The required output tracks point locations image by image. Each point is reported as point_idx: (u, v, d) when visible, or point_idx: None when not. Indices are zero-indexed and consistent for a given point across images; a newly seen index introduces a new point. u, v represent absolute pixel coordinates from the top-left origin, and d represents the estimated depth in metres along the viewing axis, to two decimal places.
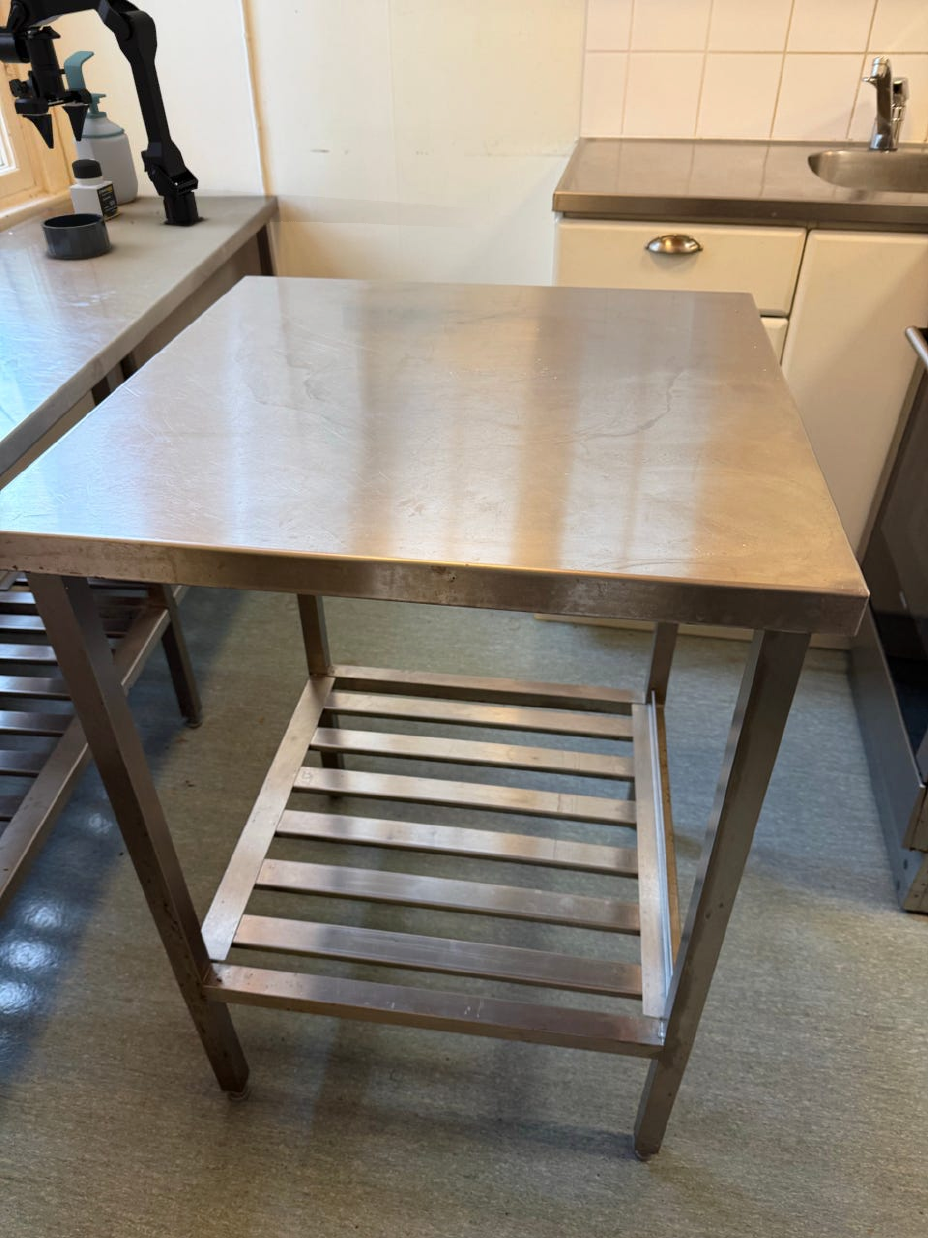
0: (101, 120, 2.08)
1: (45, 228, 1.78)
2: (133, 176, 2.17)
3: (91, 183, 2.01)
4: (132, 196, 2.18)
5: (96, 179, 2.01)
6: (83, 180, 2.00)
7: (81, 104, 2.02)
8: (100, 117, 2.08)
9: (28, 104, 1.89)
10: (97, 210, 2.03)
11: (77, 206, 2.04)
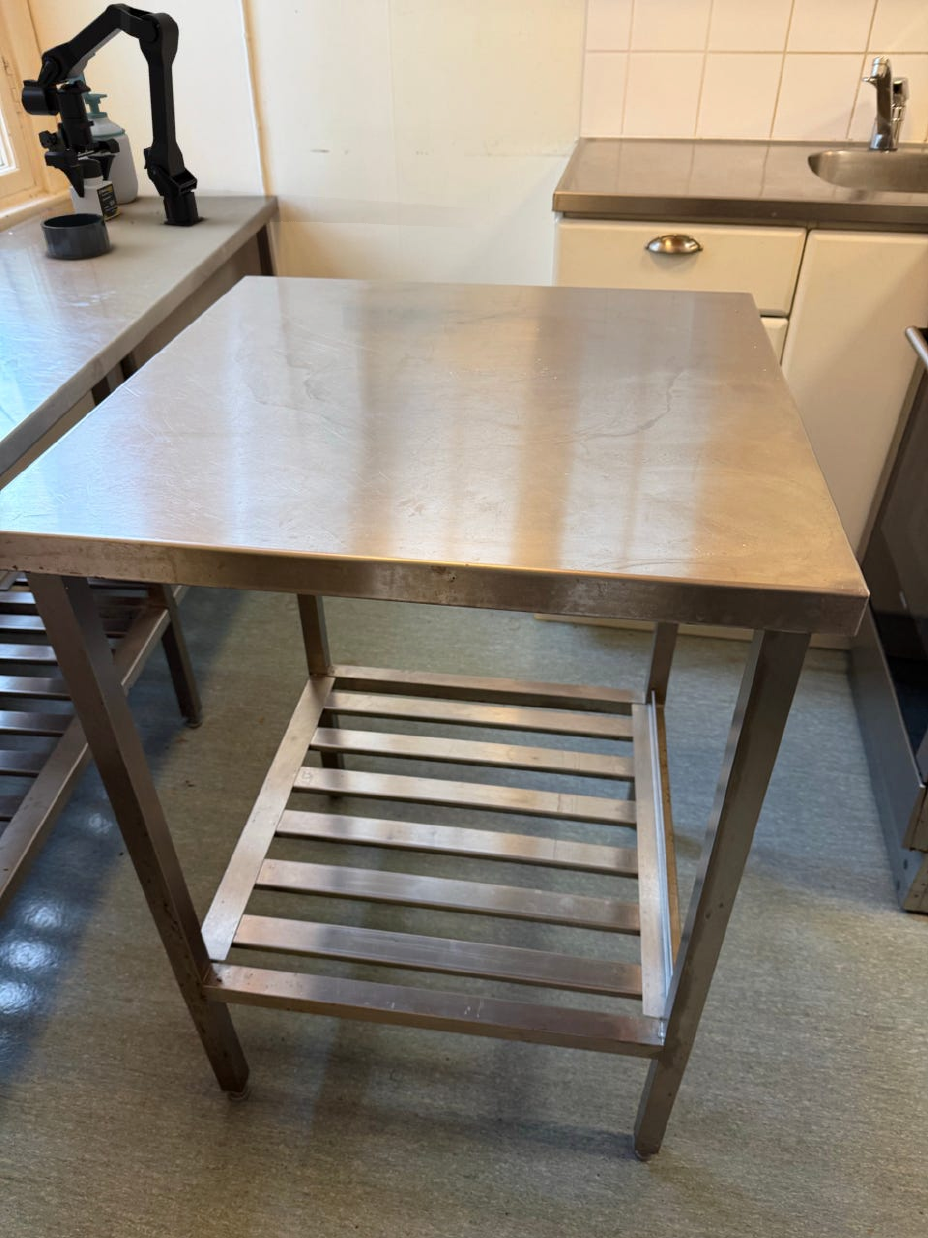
0: (102, 120, 2.09)
1: (45, 228, 1.78)
2: (133, 176, 2.17)
3: (91, 183, 2.01)
4: (132, 196, 2.18)
5: (96, 179, 2.01)
6: None
7: (106, 154, 2.04)
8: (101, 117, 2.08)
9: (58, 157, 1.92)
10: (97, 210, 2.03)
11: (77, 206, 2.04)
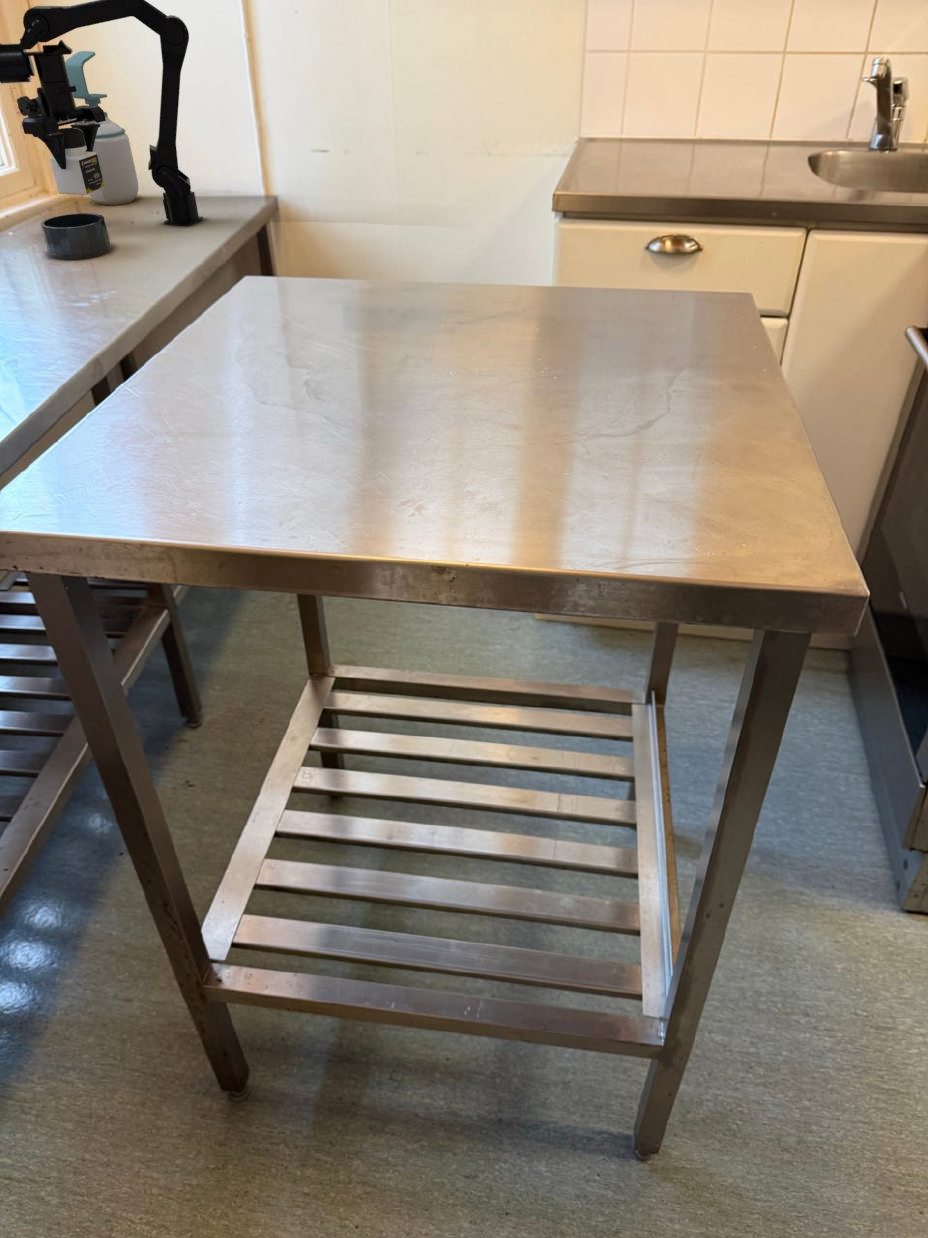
0: None
1: (45, 228, 1.78)
2: (133, 176, 2.17)
3: (73, 154, 1.88)
4: (132, 196, 2.18)
5: (78, 149, 1.88)
6: None
7: (91, 123, 1.91)
8: None
9: (36, 124, 1.78)
10: (79, 183, 1.90)
11: (59, 178, 1.90)
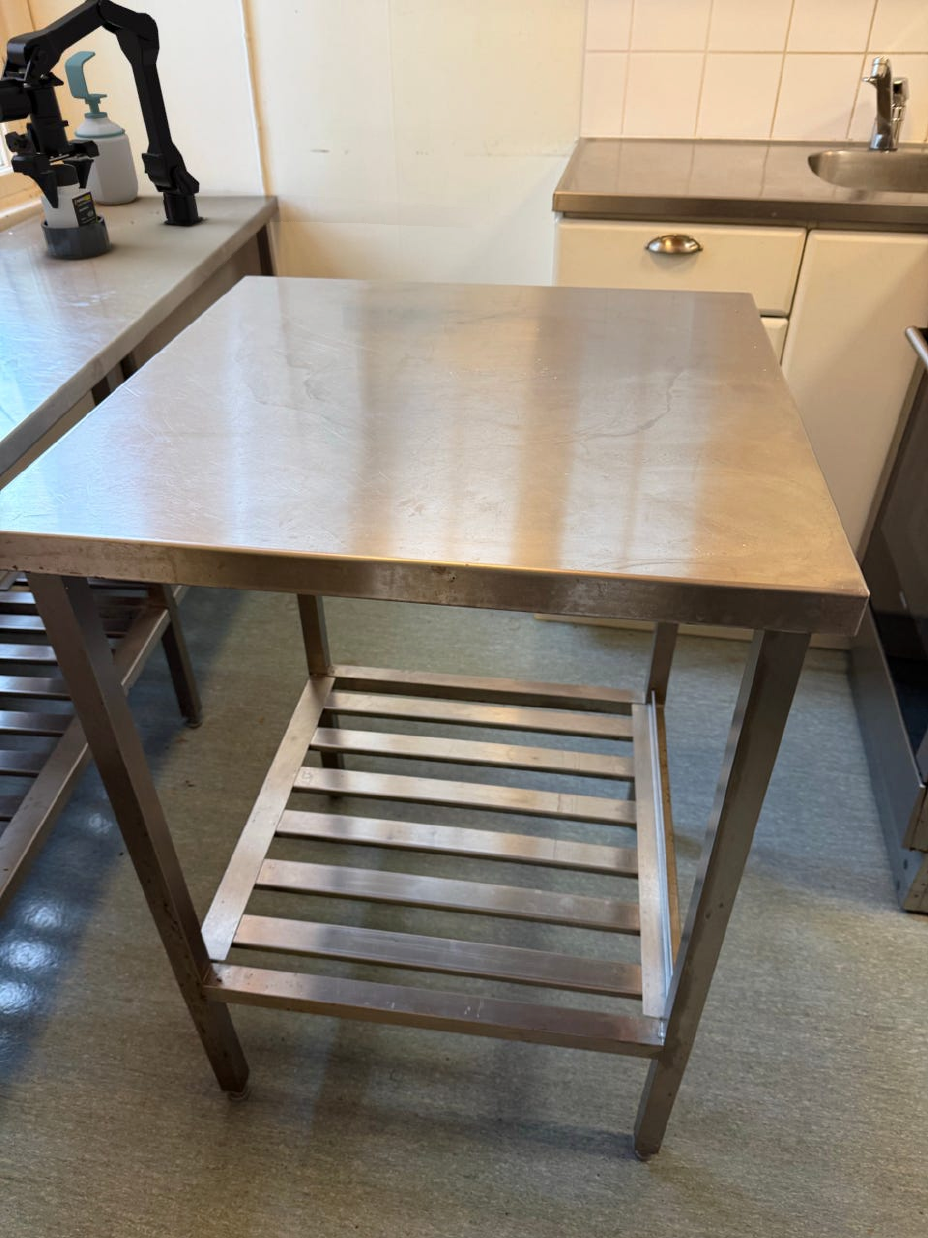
0: (102, 120, 2.09)
1: (45, 228, 1.78)
2: (133, 176, 2.17)
3: (65, 192, 1.76)
4: (132, 196, 2.18)
5: (71, 187, 1.76)
6: None
7: (84, 158, 1.79)
8: (101, 117, 2.08)
9: (27, 162, 1.67)
10: (72, 222, 1.78)
11: (50, 218, 1.79)
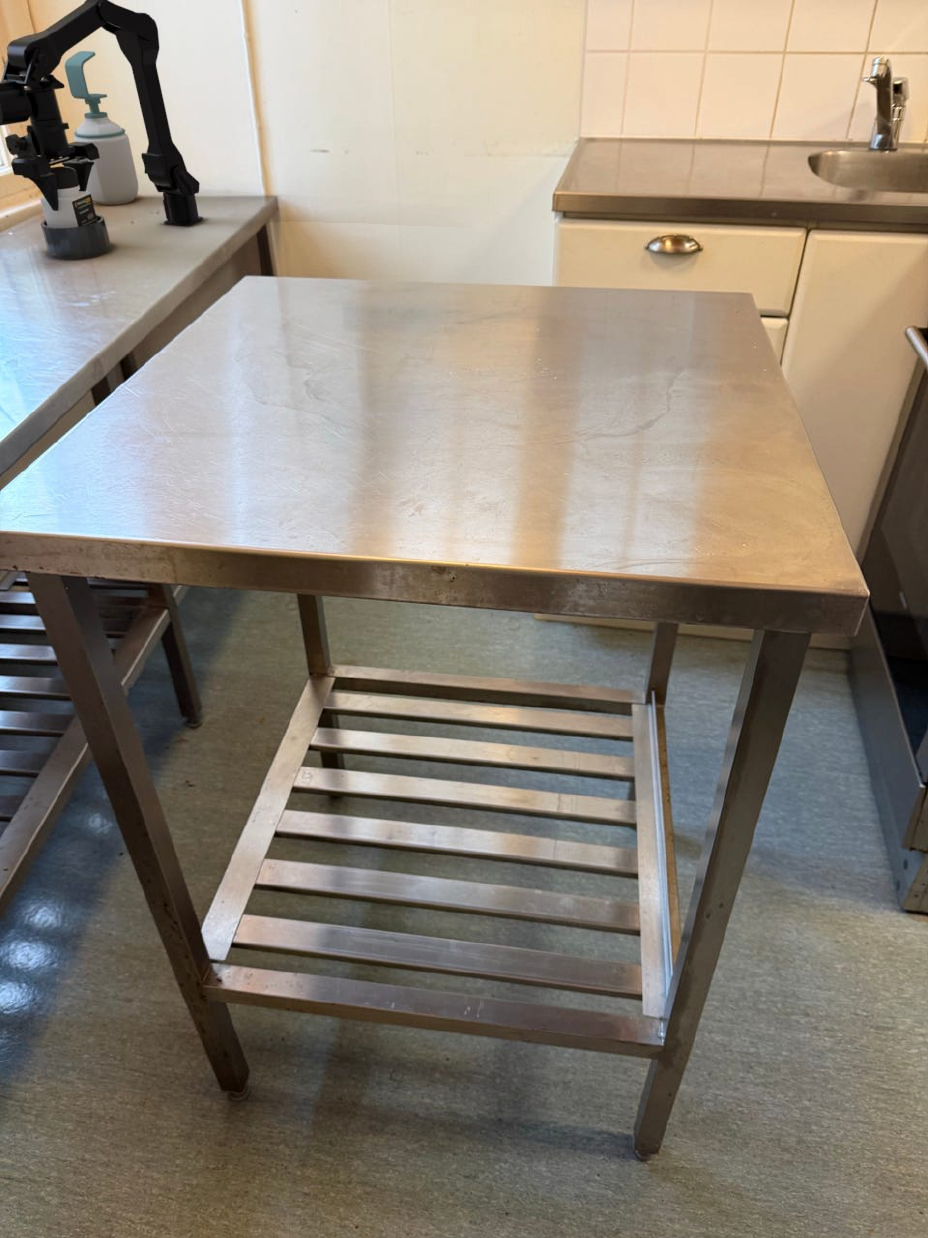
0: (102, 120, 2.09)
1: (45, 228, 1.78)
2: (133, 176, 2.17)
3: (65, 195, 1.76)
4: (132, 196, 2.18)
5: (71, 190, 1.76)
6: None
7: (84, 161, 1.79)
8: (101, 117, 2.08)
9: (27, 165, 1.67)
10: (73, 225, 1.78)
11: (50, 220, 1.79)
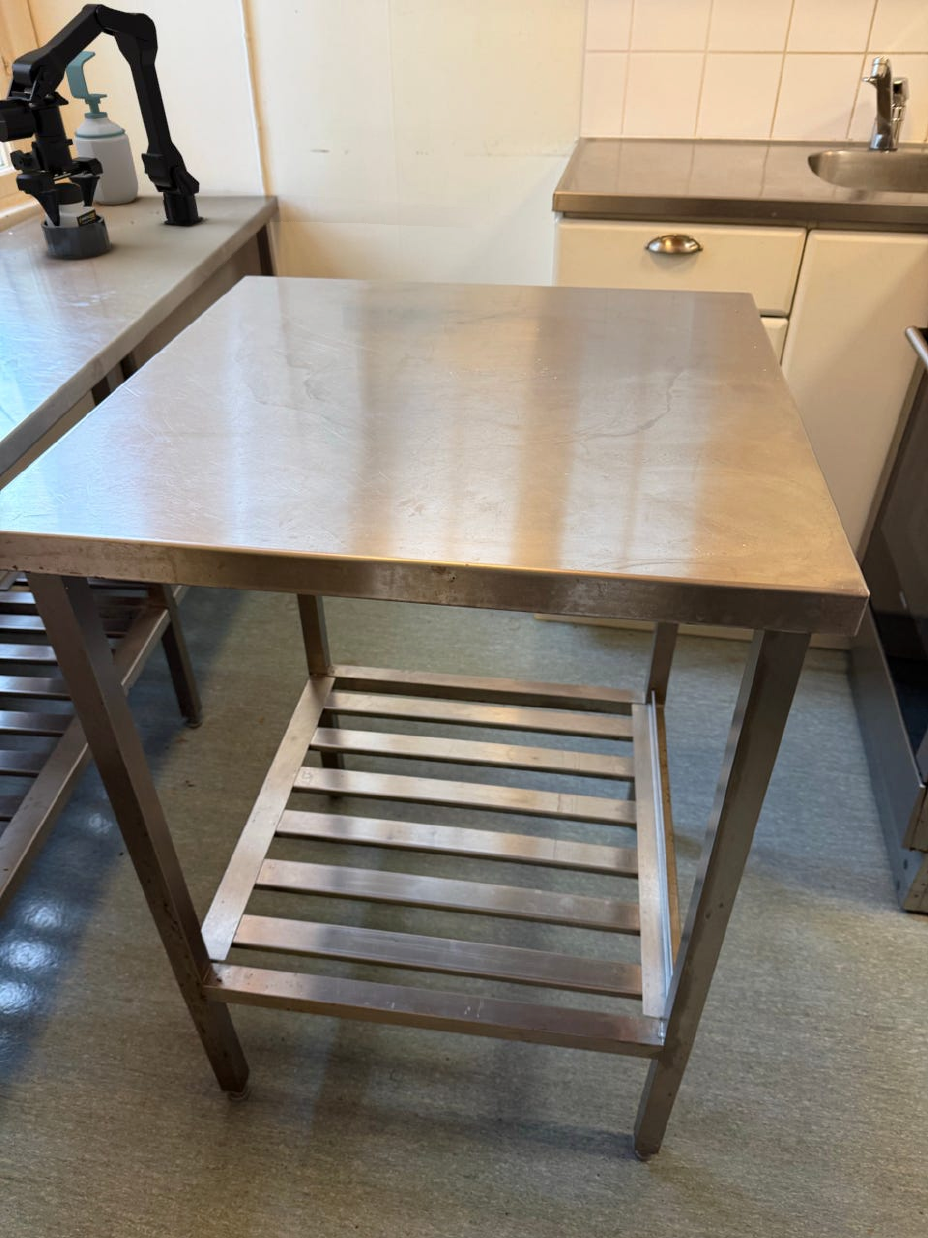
0: (102, 120, 2.09)
1: (45, 228, 1.78)
2: (133, 176, 2.17)
3: (70, 210, 1.78)
4: (132, 196, 2.18)
5: (76, 205, 1.78)
6: (61, 207, 1.77)
7: (90, 175, 1.82)
8: (101, 117, 2.08)
9: (32, 181, 1.69)
10: None
11: None
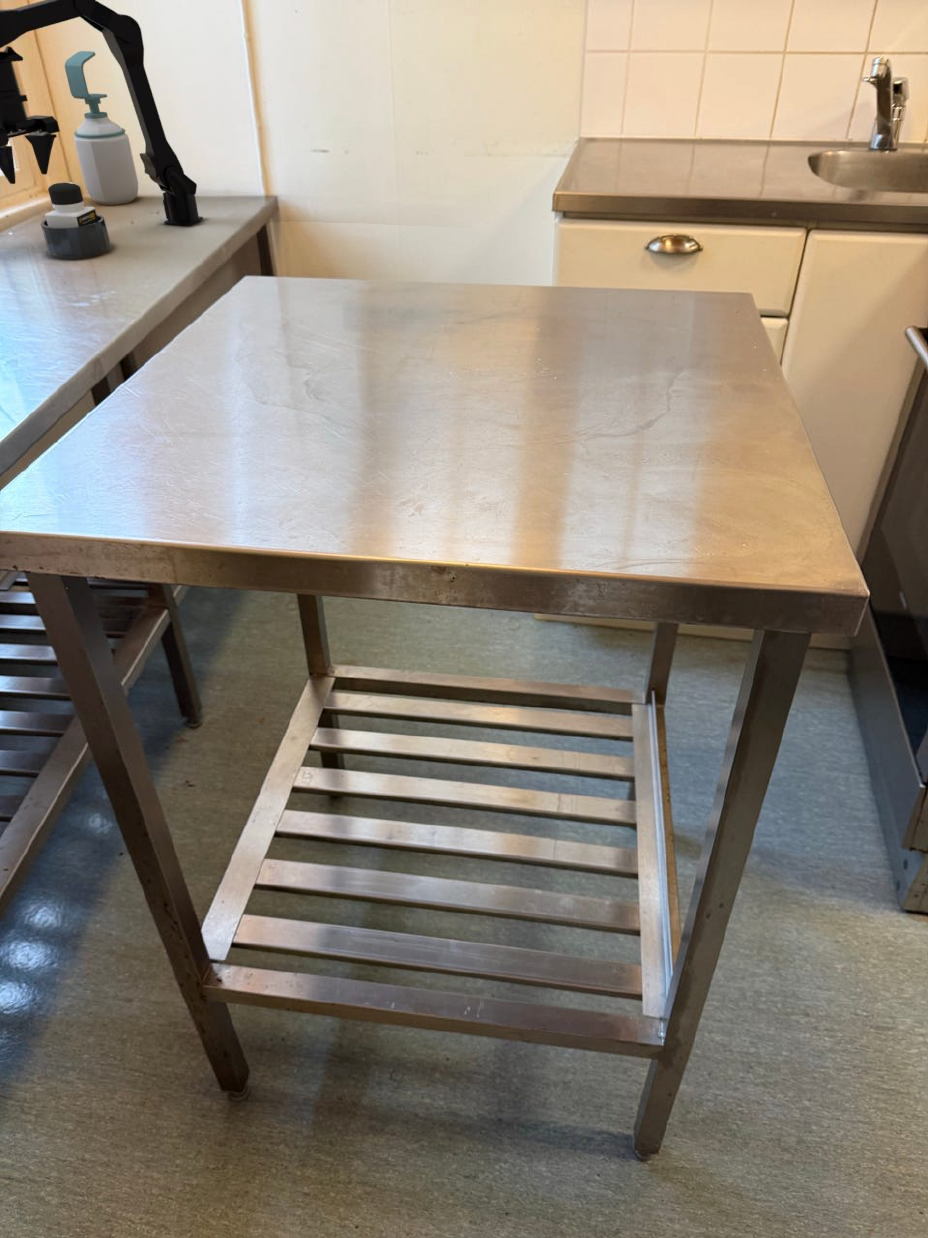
0: (102, 120, 2.09)
1: (45, 228, 1.78)
2: (133, 176, 2.17)
3: (70, 210, 1.78)
4: (132, 196, 2.18)
5: (76, 205, 1.78)
6: (61, 207, 1.77)
7: (46, 133, 1.81)
8: (101, 117, 2.08)
9: None
10: None
11: None
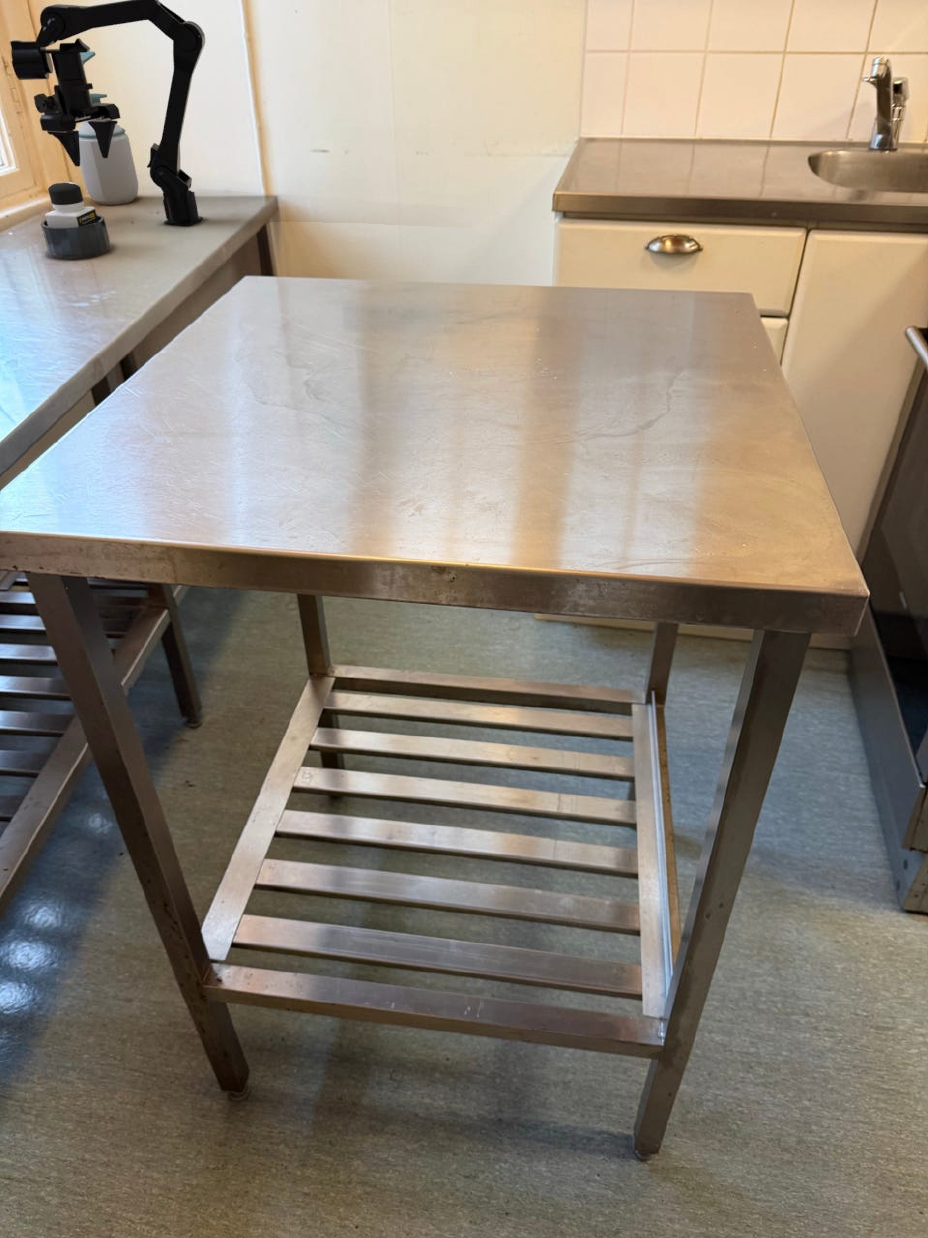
0: None
1: (45, 228, 1.78)
2: (133, 176, 2.17)
3: (70, 210, 1.78)
4: (132, 196, 2.18)
5: (76, 205, 1.78)
6: (61, 207, 1.77)
7: (108, 120, 1.94)
8: None
9: (55, 121, 1.81)
10: None
11: None
